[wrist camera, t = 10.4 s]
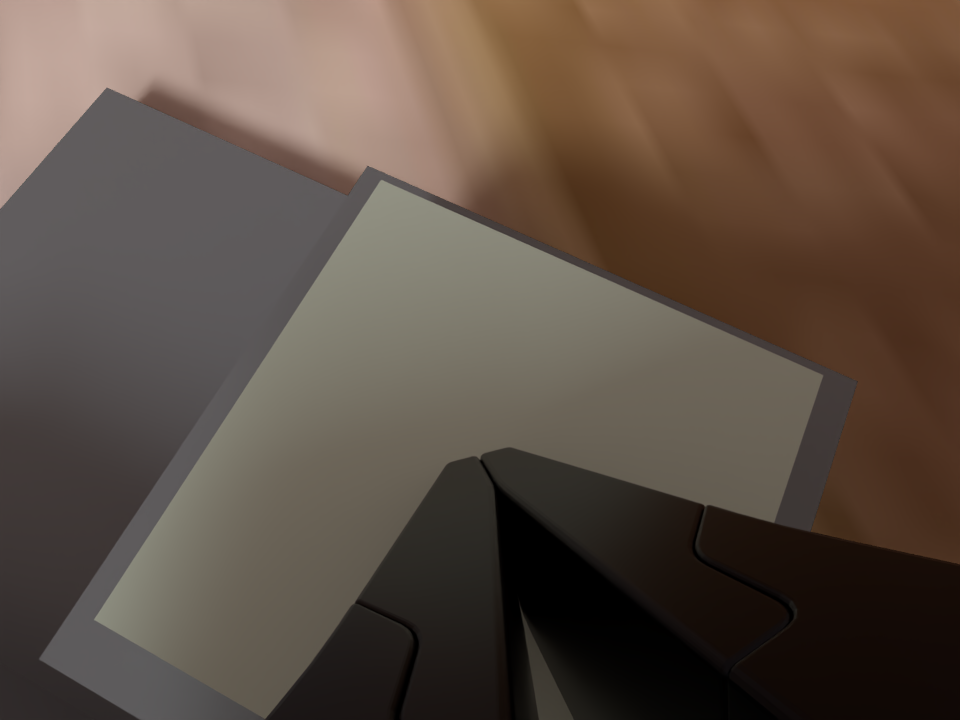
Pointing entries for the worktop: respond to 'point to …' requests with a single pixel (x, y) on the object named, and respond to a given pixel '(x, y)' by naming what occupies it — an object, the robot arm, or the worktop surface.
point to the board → (169, 379)
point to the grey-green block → (435, 434)
